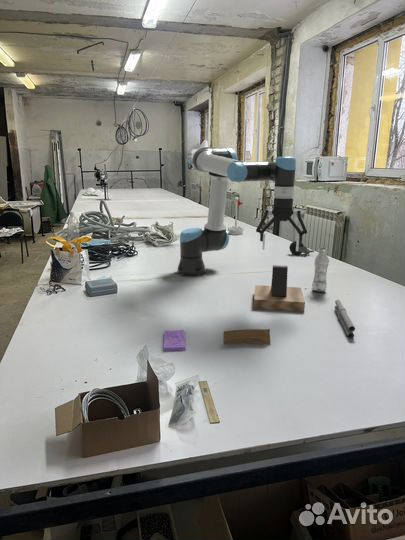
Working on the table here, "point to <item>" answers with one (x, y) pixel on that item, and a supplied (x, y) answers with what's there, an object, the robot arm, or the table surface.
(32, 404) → the table surface
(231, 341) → the wood plank
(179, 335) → the sponges
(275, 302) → the wooden board
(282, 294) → the phone stand
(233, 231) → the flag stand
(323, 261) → the plastic bottle
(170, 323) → the table surface
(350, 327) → the metal rod assembly
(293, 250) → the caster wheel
